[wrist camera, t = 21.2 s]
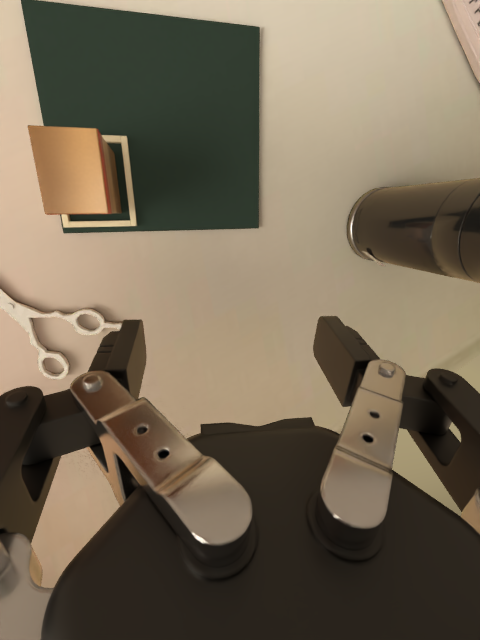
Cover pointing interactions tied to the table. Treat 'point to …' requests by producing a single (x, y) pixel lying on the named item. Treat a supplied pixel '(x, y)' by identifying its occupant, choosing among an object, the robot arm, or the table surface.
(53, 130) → the box
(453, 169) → the table surface
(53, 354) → the scissors
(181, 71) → the mat
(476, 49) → the mobile phone
